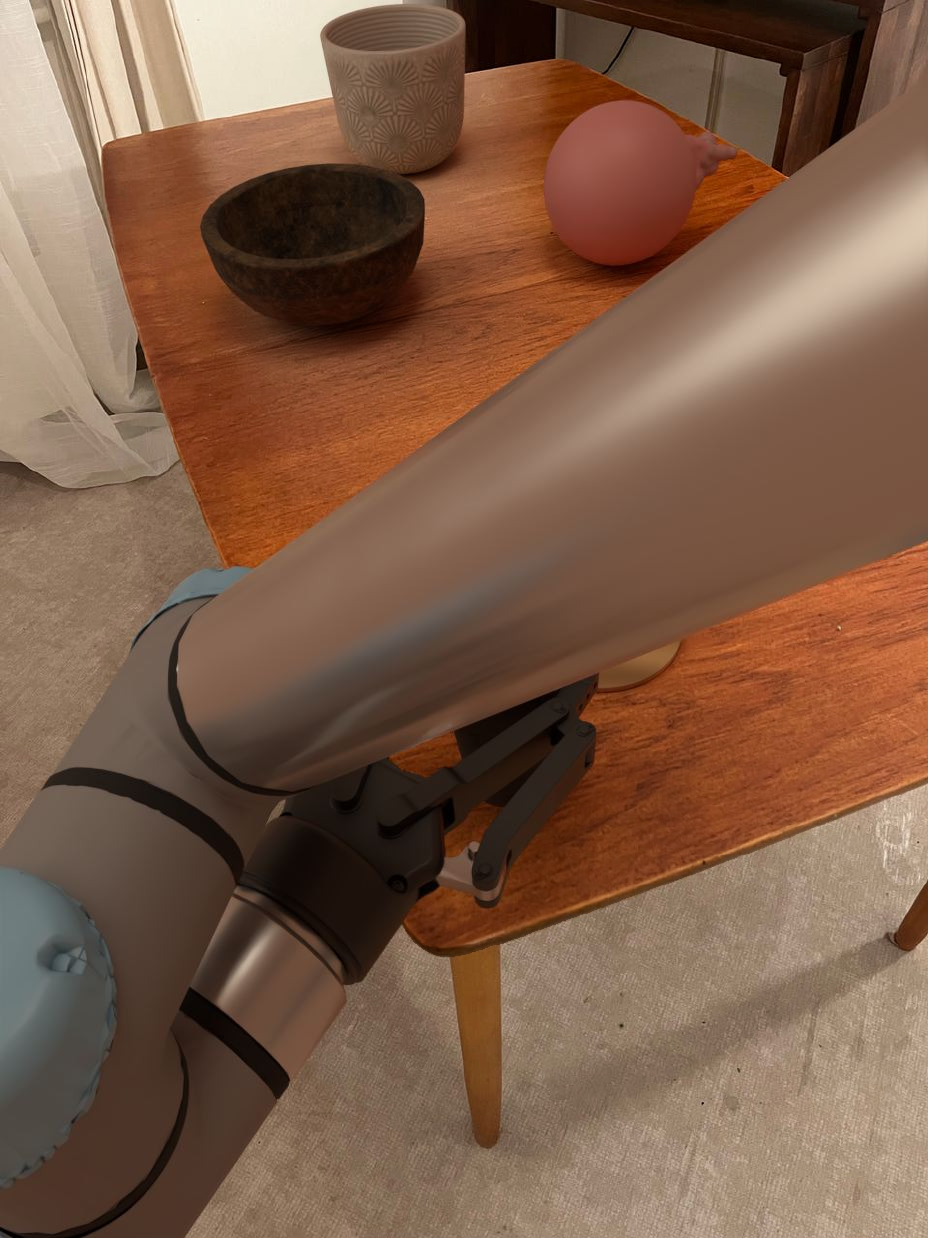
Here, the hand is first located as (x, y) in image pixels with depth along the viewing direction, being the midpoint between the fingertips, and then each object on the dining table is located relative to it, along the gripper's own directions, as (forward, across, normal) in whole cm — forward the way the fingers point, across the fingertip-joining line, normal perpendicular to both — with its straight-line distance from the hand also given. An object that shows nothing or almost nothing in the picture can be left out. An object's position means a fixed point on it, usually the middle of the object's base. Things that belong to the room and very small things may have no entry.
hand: (545, 598), depth 55 cm
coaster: (+10, -1, -13) cm, 17 cm away
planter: (+69, -59, -13) cm, 92 cm away
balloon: (+60, -22, -13) cm, 66 cm away
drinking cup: (-5, 0, -11) cm, 12 cm away
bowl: (+36, -46, -13) cm, 60 cm away
